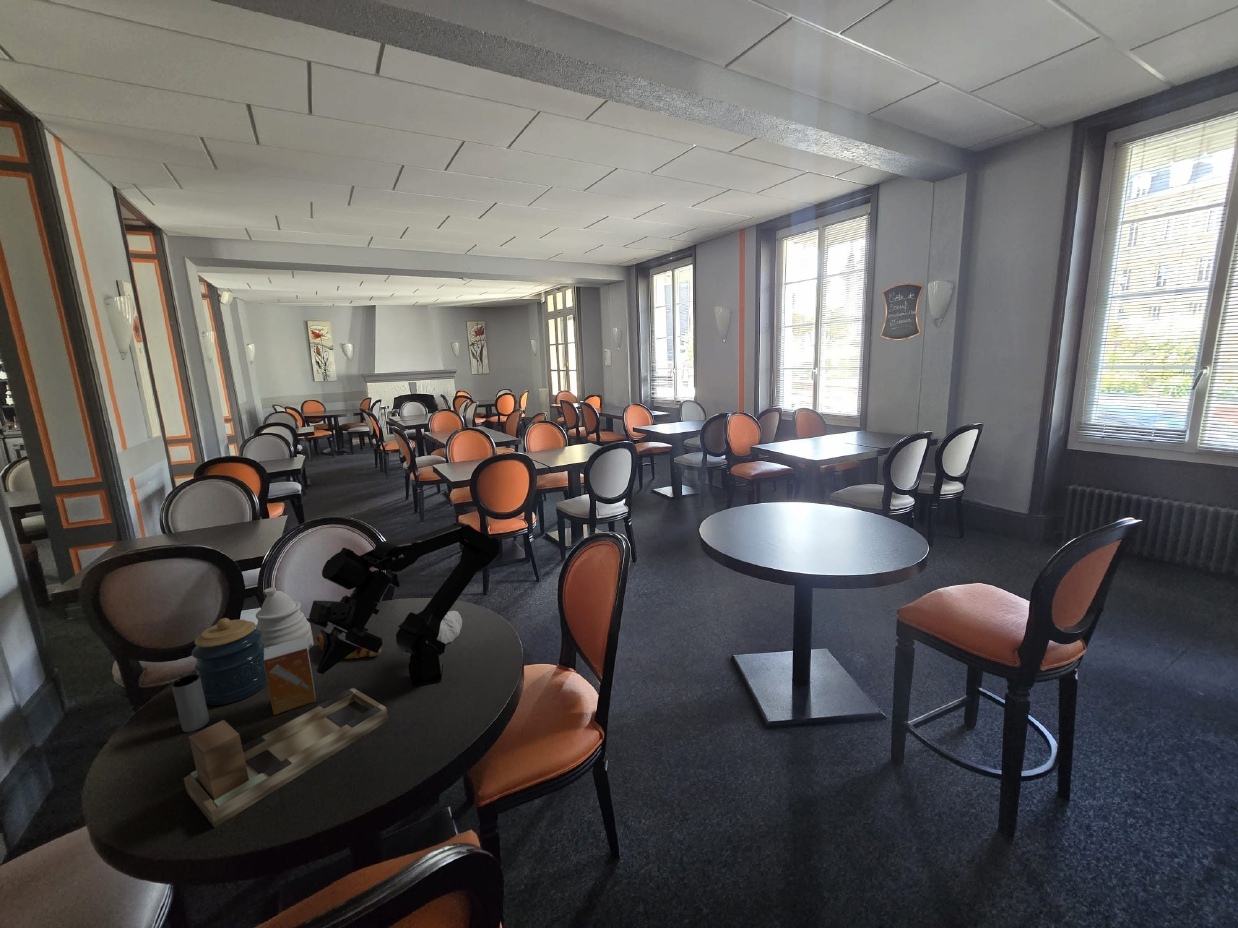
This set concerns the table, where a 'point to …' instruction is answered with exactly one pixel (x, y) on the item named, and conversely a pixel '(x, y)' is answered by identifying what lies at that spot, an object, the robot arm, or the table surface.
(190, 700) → the planter
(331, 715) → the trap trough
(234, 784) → the walnut block
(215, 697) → the canister
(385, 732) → the table surface
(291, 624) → the honey pot
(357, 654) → the croissant
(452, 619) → the white lumpy piece
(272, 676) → the small box
